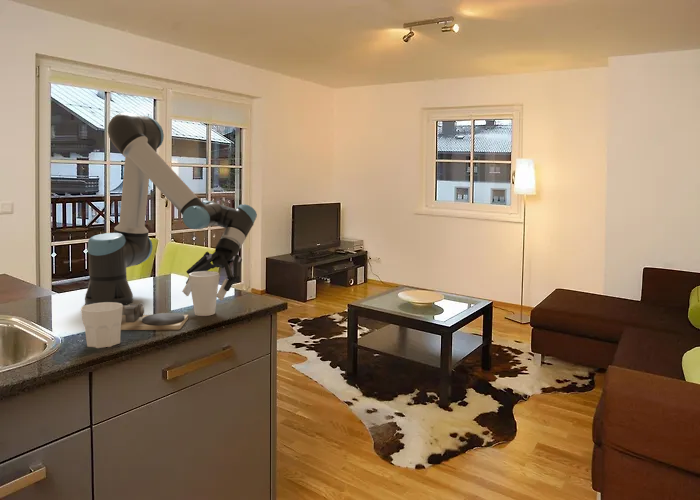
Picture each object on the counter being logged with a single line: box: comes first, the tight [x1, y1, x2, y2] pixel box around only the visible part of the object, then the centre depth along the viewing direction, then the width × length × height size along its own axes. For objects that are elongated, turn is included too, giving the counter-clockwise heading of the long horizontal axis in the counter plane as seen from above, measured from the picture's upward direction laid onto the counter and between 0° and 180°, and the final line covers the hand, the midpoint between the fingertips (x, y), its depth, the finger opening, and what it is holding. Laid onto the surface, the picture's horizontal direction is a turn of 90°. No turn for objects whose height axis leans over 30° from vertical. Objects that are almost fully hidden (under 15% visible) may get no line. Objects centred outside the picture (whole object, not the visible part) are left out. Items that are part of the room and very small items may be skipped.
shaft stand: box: [121, 303, 189, 331], centre depth 163 cm, size 22×12×6 cm, turn 95°
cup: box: [80, 302, 124, 349], centre depth 144 cm, size 10×10×10 cm
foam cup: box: [188, 270, 220, 317], centre depth 175 cm, size 10×9×13 cm
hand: (201, 296), depth 174 cm, fingers open, 13 cm apart
